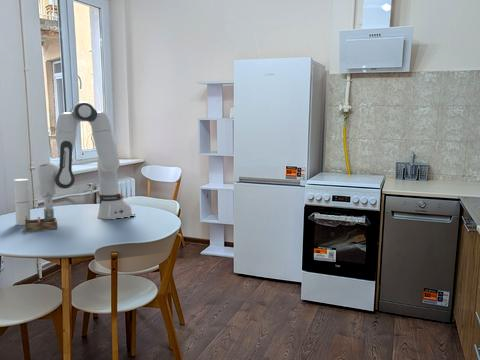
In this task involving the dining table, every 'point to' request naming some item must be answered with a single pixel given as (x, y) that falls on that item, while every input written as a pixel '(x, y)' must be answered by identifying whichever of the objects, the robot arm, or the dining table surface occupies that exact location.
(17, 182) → the cylindrical container
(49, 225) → the brown wooden open box
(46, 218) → the jar
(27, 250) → the dining table surface
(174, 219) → the dining table surface
